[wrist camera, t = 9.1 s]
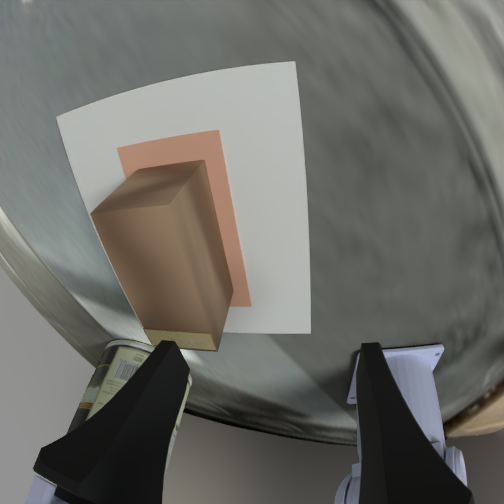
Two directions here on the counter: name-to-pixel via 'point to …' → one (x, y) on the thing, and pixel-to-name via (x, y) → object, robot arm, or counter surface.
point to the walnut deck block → (169, 253)
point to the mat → (217, 174)
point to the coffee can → (118, 381)
